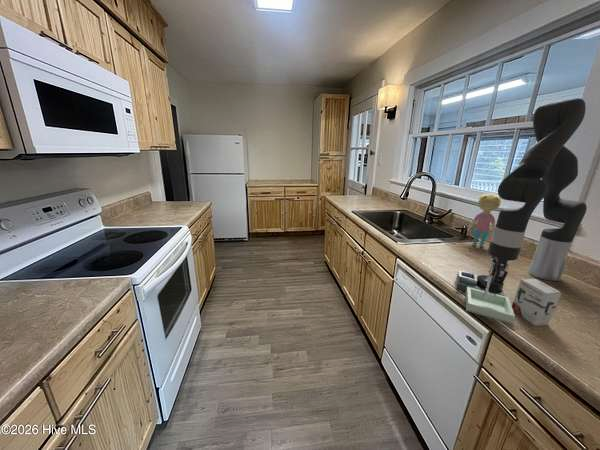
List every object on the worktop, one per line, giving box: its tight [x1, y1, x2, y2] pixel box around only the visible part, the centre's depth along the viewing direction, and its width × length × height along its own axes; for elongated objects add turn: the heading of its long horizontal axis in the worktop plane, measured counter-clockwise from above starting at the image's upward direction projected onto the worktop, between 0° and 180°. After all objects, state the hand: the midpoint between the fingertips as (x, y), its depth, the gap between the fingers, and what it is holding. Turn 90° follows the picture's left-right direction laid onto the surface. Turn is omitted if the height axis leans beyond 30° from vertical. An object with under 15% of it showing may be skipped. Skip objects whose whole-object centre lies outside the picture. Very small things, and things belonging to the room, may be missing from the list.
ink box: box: [511, 278, 562, 327], centre depth 77 cm, size 9×5×12 cm, turn 5°
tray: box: [464, 287, 516, 325], centre depth 82 cm, size 12×12×3 cm
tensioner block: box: [455, 269, 505, 296], centre depth 92 cm, size 14×10×6 cm
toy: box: [466, 193, 502, 248], centre depth 131 cm, size 13×10×30 cm
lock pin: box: [483, 269, 497, 301], centre depth 80 cm, size 3×3×10 cm
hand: (491, 290), depth 81 cm, fingers closed on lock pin, 3 cm apart
